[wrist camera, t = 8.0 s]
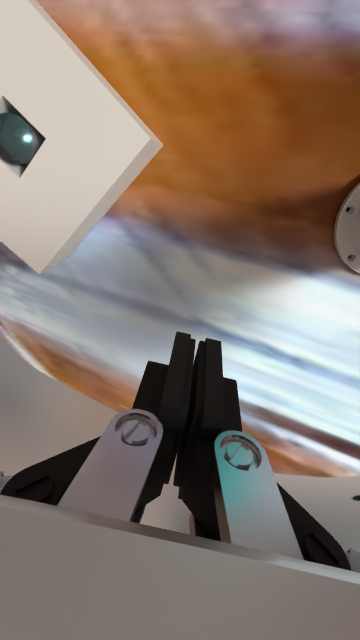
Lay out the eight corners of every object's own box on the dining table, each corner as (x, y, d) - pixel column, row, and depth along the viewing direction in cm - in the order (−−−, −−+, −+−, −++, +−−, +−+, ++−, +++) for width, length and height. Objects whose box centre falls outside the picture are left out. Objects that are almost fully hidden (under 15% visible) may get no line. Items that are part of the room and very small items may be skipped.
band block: (28, -8, 29) (-31, -66, 22) (163, 145, 34) (150, 138, 27) (-53, 145, 36) (-118, 139, 29) (69, 256, 40) (39, 274, 33)
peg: (46, 115, 33) (3, 100, 26) (75, 145, 34) (41, 138, 27) (26, 145, 35) (-18, 139, 28) (55, 173, 36) (18, 173, 29)
